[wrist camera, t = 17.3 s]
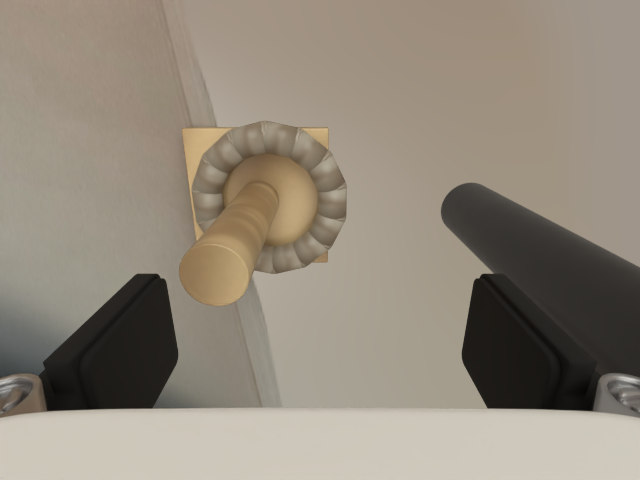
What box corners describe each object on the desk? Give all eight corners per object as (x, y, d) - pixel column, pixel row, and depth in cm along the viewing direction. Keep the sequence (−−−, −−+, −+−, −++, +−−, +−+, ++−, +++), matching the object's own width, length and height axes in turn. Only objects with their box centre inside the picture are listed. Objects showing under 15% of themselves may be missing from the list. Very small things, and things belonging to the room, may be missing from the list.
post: (328, 127, 23) (336, 153, 12) (327, 255, 27) (332, 373, 15) (187, 127, 23) (62, 153, 12) (204, 256, 26) (117, 373, 15)
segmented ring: (345, 118, 22) (348, 120, 20) (344, 265, 25) (346, 277, 24) (187, 121, 22) (176, 123, 20) (208, 267, 26) (200, 279, 24)
